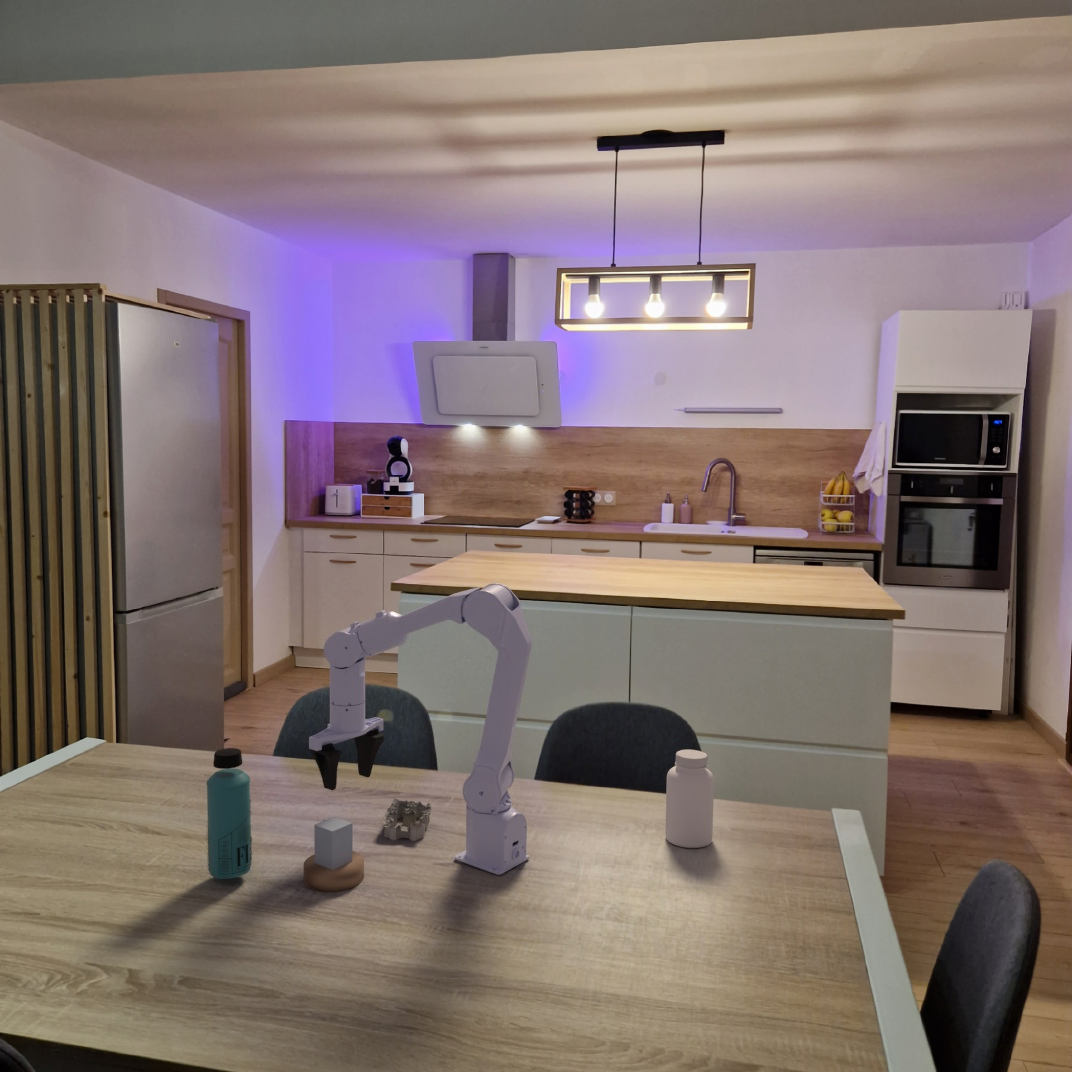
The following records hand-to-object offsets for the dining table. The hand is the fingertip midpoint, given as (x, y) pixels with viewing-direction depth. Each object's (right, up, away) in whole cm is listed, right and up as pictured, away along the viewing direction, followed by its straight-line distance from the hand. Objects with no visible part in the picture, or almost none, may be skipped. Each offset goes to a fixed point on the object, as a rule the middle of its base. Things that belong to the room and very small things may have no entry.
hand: (347, 782), depth 154 cm
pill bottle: (+57, -11, +5) cm, 58 cm away
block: (0, -9, -12) cm, 15 cm away
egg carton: (+9, -10, +7) cm, 16 cm away
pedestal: (0, -12, -12) cm, 16 cm away
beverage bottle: (-15, -12, -13) cm, 23 cm away
